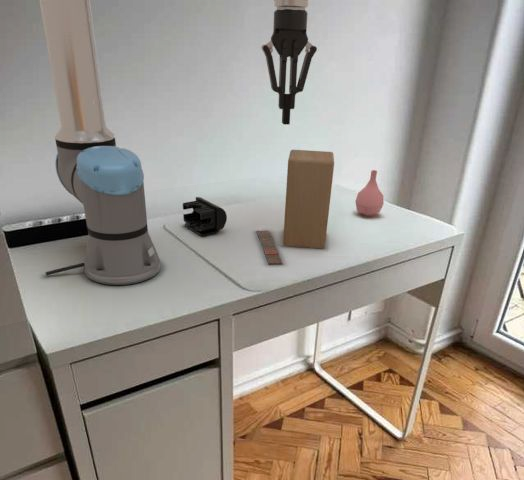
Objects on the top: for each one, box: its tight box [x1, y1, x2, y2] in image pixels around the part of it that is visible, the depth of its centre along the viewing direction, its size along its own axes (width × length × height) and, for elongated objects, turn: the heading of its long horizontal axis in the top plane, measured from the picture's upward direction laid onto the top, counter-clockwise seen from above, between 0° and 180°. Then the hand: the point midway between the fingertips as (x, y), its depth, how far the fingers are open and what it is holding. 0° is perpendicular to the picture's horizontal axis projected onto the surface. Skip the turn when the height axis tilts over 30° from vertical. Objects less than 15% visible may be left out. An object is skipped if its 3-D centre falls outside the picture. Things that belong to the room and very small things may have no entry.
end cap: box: [182, 196, 228, 238], centre depth 125 cm, size 10×7×7 cm
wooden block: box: [282, 149, 335, 249], centre depth 117 cm, size 10×10×20 cm
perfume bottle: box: [355, 169, 384, 217], centre depth 137 cm, size 8×8×12 cm
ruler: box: [256, 230, 283, 266], centre depth 118 cm, size 20×3×1 cm, turn 8°
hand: (285, 123), depth 124 cm, fingers closed
